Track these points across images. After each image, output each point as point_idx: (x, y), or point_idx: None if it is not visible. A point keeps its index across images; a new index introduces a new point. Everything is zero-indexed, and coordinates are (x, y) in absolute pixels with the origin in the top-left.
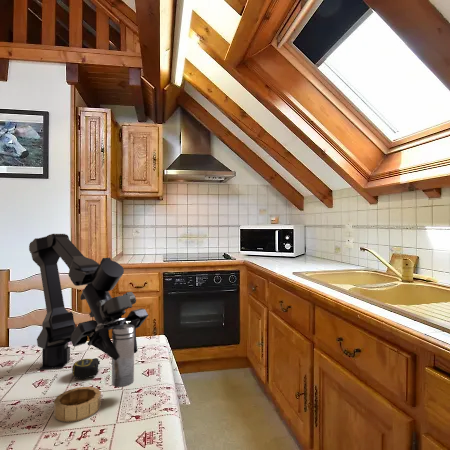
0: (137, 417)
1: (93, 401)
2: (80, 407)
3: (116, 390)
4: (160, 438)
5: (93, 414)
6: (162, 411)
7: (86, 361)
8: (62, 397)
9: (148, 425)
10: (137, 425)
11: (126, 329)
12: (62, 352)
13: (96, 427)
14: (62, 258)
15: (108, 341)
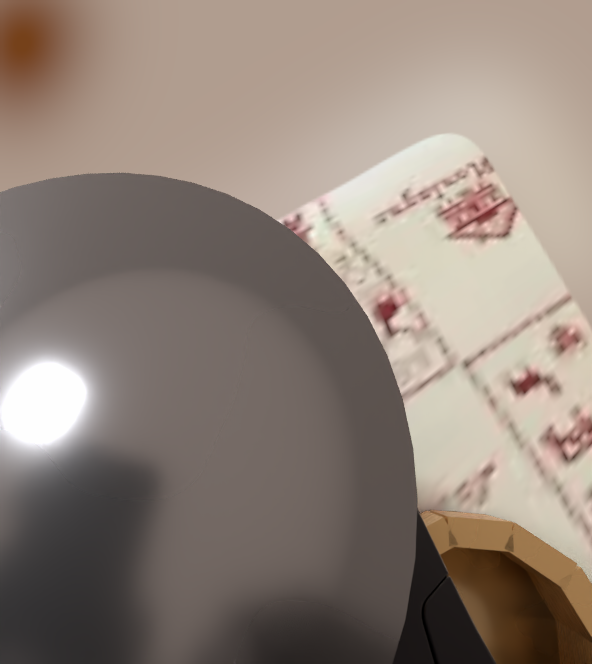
0: (391, 308)
1: (481, 518)
2: (556, 551)
3: None
4: (460, 175)
5: (454, 511)
6: (319, 243)
7: None
8: None
9: (417, 243)
10: (435, 278)
11: (241, 239)
12: None
13: (520, 422)
14: None
15: (441, 636)
